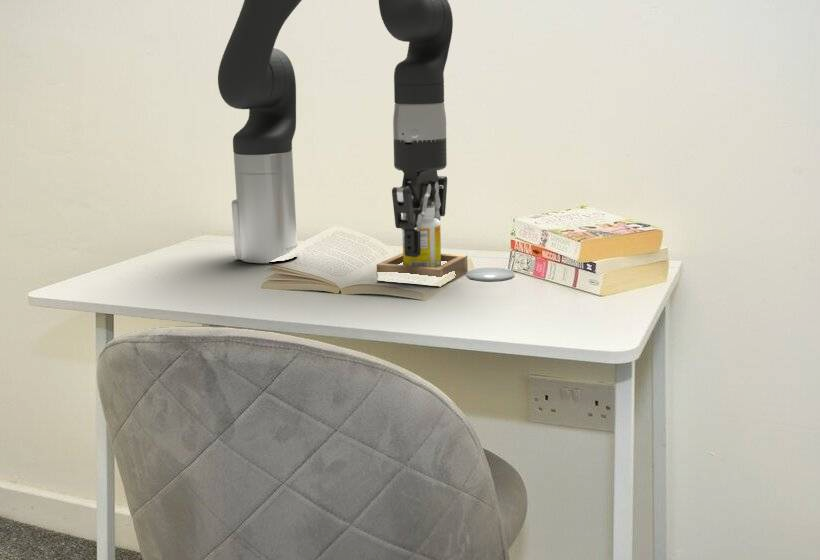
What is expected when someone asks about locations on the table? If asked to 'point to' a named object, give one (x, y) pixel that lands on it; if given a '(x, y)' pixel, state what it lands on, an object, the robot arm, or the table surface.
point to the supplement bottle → (427, 242)
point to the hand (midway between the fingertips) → (421, 251)
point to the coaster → (490, 274)
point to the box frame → (453, 264)
